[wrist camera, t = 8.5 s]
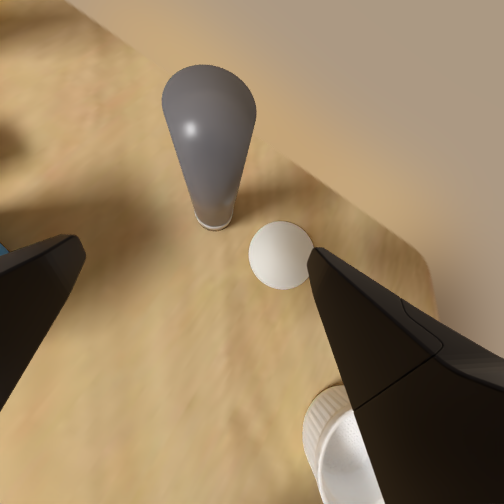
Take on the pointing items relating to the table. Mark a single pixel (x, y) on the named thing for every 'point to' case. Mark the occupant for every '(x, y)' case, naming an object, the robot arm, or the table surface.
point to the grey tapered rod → (210, 137)
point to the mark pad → (280, 255)
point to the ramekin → (338, 451)
